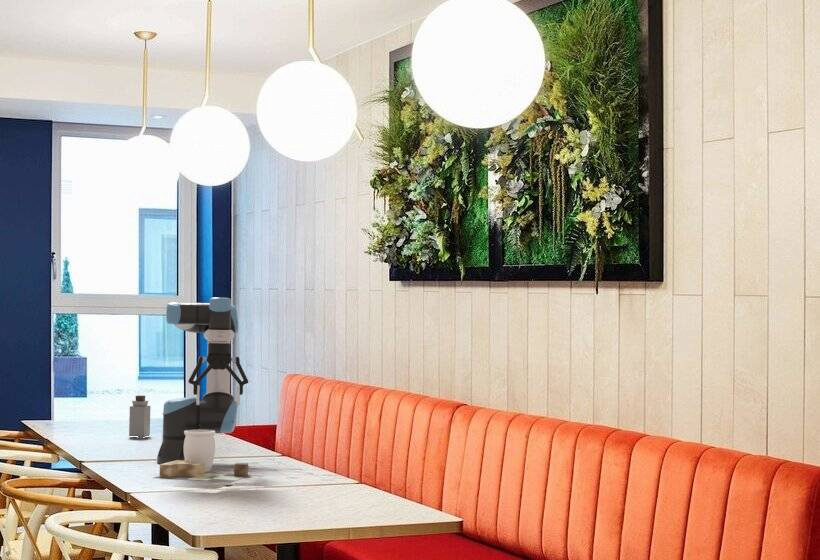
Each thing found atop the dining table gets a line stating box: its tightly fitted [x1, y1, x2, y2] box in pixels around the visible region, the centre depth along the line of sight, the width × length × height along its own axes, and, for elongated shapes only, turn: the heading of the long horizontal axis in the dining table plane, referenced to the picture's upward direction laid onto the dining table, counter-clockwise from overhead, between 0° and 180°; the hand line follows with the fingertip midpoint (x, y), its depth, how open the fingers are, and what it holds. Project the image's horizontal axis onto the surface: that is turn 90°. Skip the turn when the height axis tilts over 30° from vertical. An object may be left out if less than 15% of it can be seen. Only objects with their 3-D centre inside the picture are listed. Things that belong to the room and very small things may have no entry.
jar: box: [184, 429, 216, 472], centre depth 378 cm, size 11×10×15 cm
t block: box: [159, 460, 205, 478], centre depth 365 cm, size 12×12×4 cm
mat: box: [153, 471, 253, 488], centre depth 363 cm, size 27×18×1 cm, turn 74°
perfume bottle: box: [128, 394, 152, 437], centre depth 484 cm, size 7×7×18 cm
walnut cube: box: [233, 462, 249, 478], centre depth 367 cm, size 4×4×4 cm
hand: (217, 404), depth 382 cm, fingers open, 13 cm apart
